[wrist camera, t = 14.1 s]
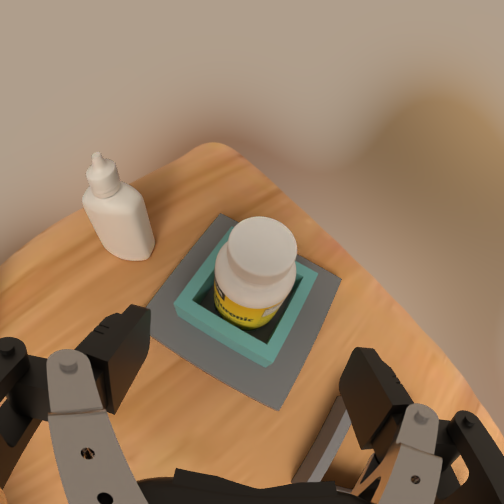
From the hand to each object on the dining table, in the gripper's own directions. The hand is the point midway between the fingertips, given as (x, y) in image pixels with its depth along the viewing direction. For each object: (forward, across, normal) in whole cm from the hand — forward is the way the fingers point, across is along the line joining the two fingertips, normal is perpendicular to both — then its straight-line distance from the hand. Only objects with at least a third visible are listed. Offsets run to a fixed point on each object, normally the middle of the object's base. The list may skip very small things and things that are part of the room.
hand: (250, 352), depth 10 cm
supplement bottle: (+14, 0, +4) cm, 14 cm away
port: (+14, 0, +5) cm, 15 cm away
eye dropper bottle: (+17, +12, +2) cm, 21 cm away
